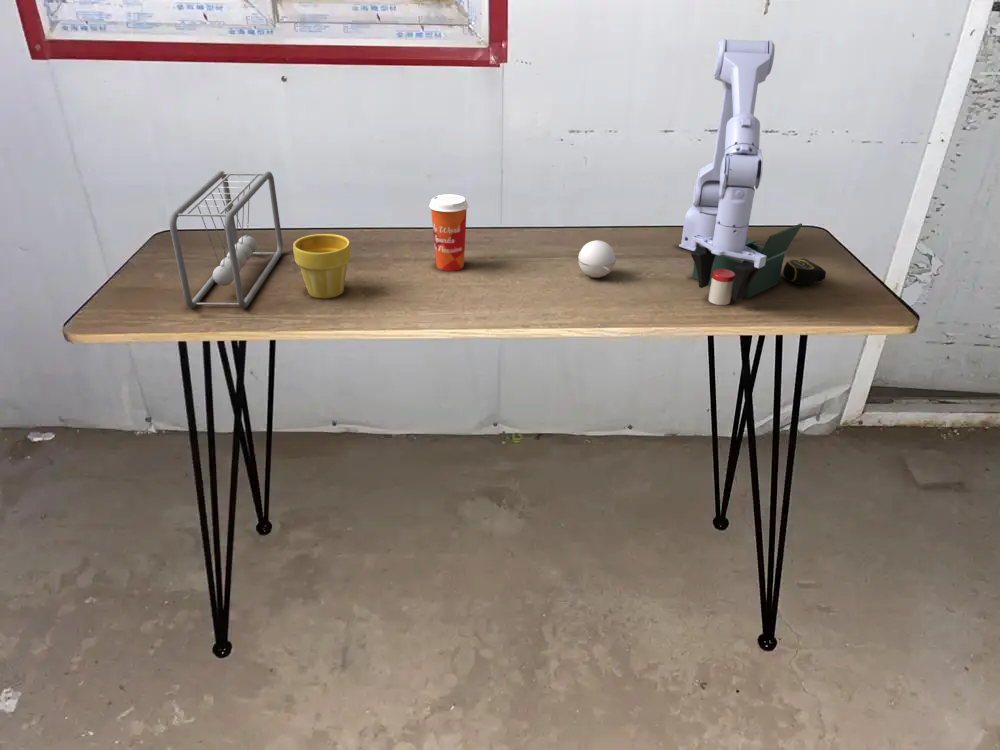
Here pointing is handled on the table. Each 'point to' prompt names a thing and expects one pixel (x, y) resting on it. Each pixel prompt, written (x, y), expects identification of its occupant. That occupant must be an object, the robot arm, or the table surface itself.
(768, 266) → the carton
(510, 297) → the table surface
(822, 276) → the tape measure
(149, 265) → the table surface
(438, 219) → the paper cup
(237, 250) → the newton's cradle
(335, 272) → the flower pot
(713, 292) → the shaker
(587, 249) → the seamed sphere
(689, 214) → the robot arm
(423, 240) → the table surface
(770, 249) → the flap
